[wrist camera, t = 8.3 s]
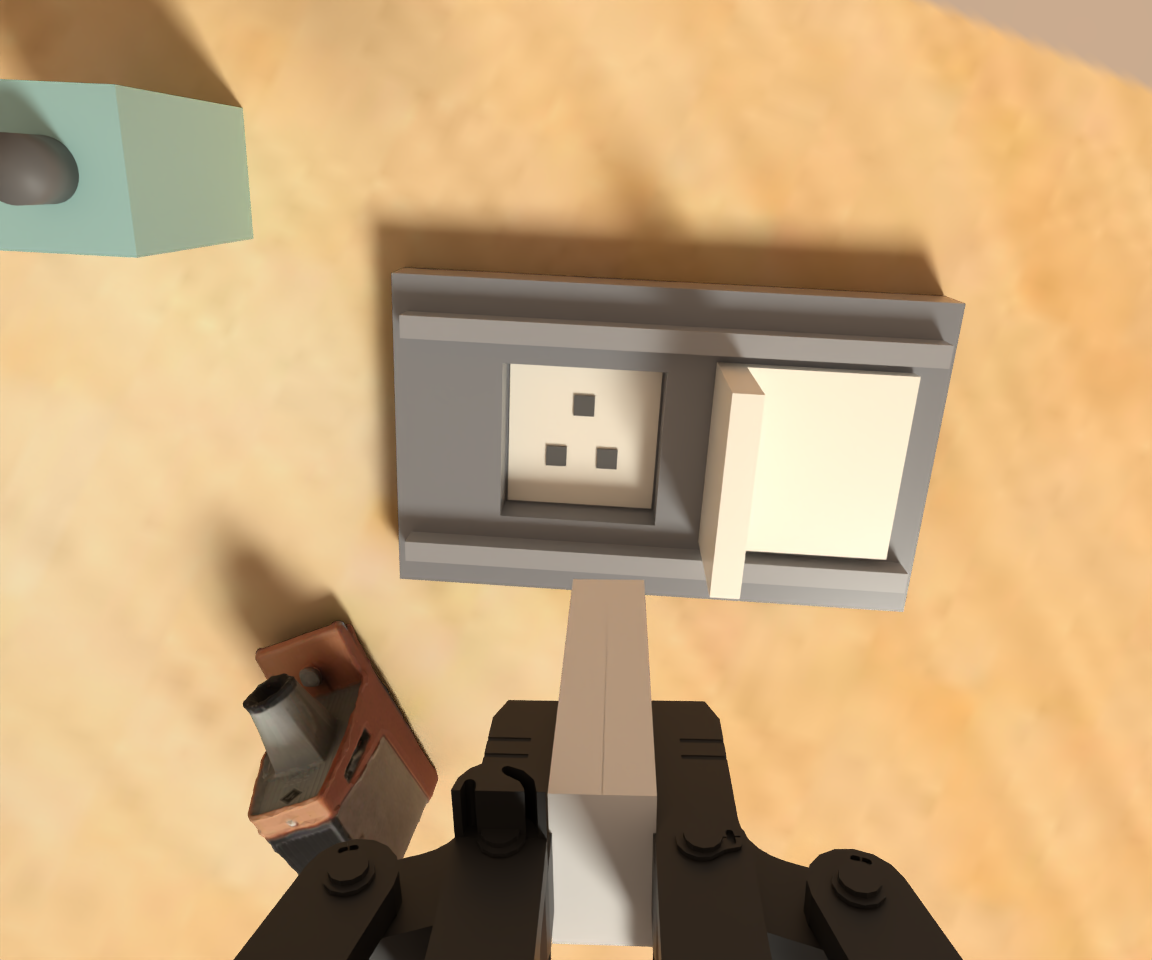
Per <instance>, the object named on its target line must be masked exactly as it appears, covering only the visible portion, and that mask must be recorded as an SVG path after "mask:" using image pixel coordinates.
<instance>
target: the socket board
mask: <svg viewBox="0 0 1152 960" xmlns="http://www.w3.org/2000/svg"><path fill="white" fill-rule="evenodd" d="M391 279H392V314H393V349H394V384H395V420H396V455H397V490H398V525H399V560H400V579H415V580H430V581H445V582H460V583H475V584H490V585H505V586H520V587H536V588H551V589H566V590H572V583H573V579H599V580H644V586H645V595H656V596H672V597H687V598H702V599H717V600H732V601H747V602H762V603H777V604H792V605H808V606H823V607H838V608H853V609H868V610H883V611H898V612H903V611H904V606H905V601H906V596H907V591H908V586H909V581H910V576H911V571H912V566H913V561H914V556H915V551H916V546H917V541H918V536H919V532H920V527H921V522H922V517H923V512H924V507H925V502H926V497H927V492H928V487H929V482H930V477H931V472H932V467H933V462H934V457H935V452H936V447H937V442H938V437H939V432H940V428H941V423H942V418H943V413H944V408H945V403H946V398H947V393H948V388H949V383H950V378H951V373H952V368H953V363H954V358H955V353H956V348H957V343H958V338H959V333H960V328H961V324H962V319H963V314H964V309H965V303H963V302H960V301H957V300H954V299H952V298H949V297H946V296H936V295H917V294H898V293H880V292H861V291H842V290H823V289H804V288H785V287H766V286H748V285H729V284H710V283H691V282H672V281H653V280H634V279H616V278H597V277H578V276H559V275H540V274H521V273H503V272H484V271H465V270H446V269H427V268H408V267H405V268H402V269H400V270H397V271H395V272H393V273H391ZM717 362H723V363H740V364H758V365H776V366H794V367H811V368H829V369H847V370H865V371H882V372H900V373H915V374H917V375H918V376H920V377H921V379H920V384H919V389H918V394H917V400H916V405H915V410H914V415H913V421H912V426H911V431H910V437H909V442H908V447H907V452H906V458H905V463H904V468H903V474H902V479H901V484H900V489H899V495H898V500H897V505H896V510H895V516H894V521H893V526H892V532H891V537H890V542H889V547H888V553H887V558H886V560H883V559H867V558H852V557H836V556H821V555H805V554H789V553H774V552H758V551H746V553H745V561H744V569H743V577H742V585H741V593H740V599H727V598H712V597H709V592H708V587H707V582H706V577H705V572H704V567H703V562H702V557H701V553H700V548H699V543H698V538H699V529H700V519H701V510H702V500H703V491H704V481H705V471H706V462H707V452H708V443H709V433H710V424H711V414H712V404H713V395H714V385H715V376H716V366H717Z"/></svg>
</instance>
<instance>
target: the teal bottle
mask: <svg viewBox="0 0 1152 960" xmlns="http://www.w3.org/2000/svg"><path fill="white" fill-rule="evenodd" d="M248 239H253V228H252V216H251V204H250V192H249V179H248V167H247V155H246V143H245V131H244V119H243V108H240V107H235V106H229V105H224V104H218V103H213V102H207V101H202V100H197V99H191V98H186V97H180V96H175V95H169V94H164V93H159V92H153V91H148V90H142V89H137V88H131V87H126V86H121V85H115V84H94V83H73V82H51V81H29V80H7V79H0V250H3V251H22V252H41V253H60V254H79V255H97V256H116V257H135V258H138V257H144V256H150V255H156V254H162V253H168V252H175V251H181V250H187V249H193V248H199V247H205V246H211V245H218V244H224V243H230V242H236V241H242V240H248Z"/></svg>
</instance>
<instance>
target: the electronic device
mask: <svg viewBox="0 0 1152 960" xmlns="http://www.w3.org/2000/svg"><path fill="white" fill-rule="evenodd" d="M256 661H257V662H258V664H259V666H260V668H261V669H262V671H263V673H264V675H265V677H266V678H267V680H266V681H265V682H263V683H262V684H260V685H258V686H257V688H256V689H255V690H254V691H253V692H252V693H251V694H250V695H249V696H248V697H247V699H246V700H245V701H244V702H243V707H244V708H245V709H246V710H247V711H248V712H249V713H250V715H251V717H252V719H253V721H254V723H255V725H256V727H257V729H258V732H259V734H260V736H261V739H262V741H263V744H264V746H265V749H266V752H265V754H264V755H263V757H262V760H261V764H260V769H259V773H258V777H257V779H256V781H255V785H254V789H253V795H252V798H251V803H250V807H249V811H248V818H249V820H250V821H251V822H252V823H253V824H254V825H255V826H256V828H257V829H258V833H259V834H260V835H261V836H263V837H264V838H265V839H266V840H267V841H268V842H269V843H270V844H271V846H272V848H273V849H274V851H275V852H276V853H278V854H279V855H280V856H281V857H282V858H284V859H285V860H286V862H287V863H288V864H289V865H290V866H291V867H292V868H293V869H294V870H295V871H296V872H297V873H298V875H299V874H300V873H301V872H302V871H303V869H304V868H305V867H306V865H307V864H308V863H309V862H310V861H311V860H313V859H314V858H315V857H316V856H317V855H318V854H319V853H320V852H322V851H323V850H325V849H327V848H329V847H331V846H333V845H335V844H337V843H340V842H345V841H349V840H354V839H367V840H375V841H378V842H380V843H382V844H385V845H387V846H388V847H389V848H390V849H391V850H392V851H393V852H394V854H395V855H396V856H397V860H399V859H403V857H404V854H405V852H406V850H407V848H408V845H409V843H410V840H411V838H412V836H413V833H414V831H415V829H416V826H417V824H418V822H419V821H420V818H421V815H422V812H423V810H424V808H425V806H426V804H427V803H428V802H429V800H430V799H431V797H432V795H433V792H434V789H435V786H436V783H437V781H438V775H437V772H436V770H435V768H433V767H432V765H431V764H430V762H429V761H428V759H427V758H426V756H425V754H424V753H423V751H422V750H421V748H420V747H419V745H418V743H417V741H416V739H415V737H414V735H413V733H412V731H411V730H410V728H409V725H408V723H407V722H405V720H404V719H403V716H402V713H401V711H400V710H399V708H398V707H397V705H396V704H395V702H394V700H393V699H392V697H391V696H390V694H389V692H388V689H387V688H386V686H385V685H383V683H382V682H381V681H380V679H379V678H378V676H377V675H376V673H375V672H374V670H373V668H372V665H371V662H370V660H369V659H368V658H367V656H366V654H365V651H364V649H363V647H362V646H361V645H360V643H359V641H358V639H357V637H356V634H355V631H354V628H353V627H352V625H351V624H344V622H342V621H335V622H333V623H332V624H331V625H328V626H325V627H323V628H320V629H317V630H314V631H311V632H309V633H304V634H302V635H299V636H297V637H295V638H292V639H289V640H286V641H284V642H281V643H278V644H275V645H272V646H268V647H265V648H259V649H258V650H257V651H256Z"/></svg>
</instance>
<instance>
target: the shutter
mask: <svg viewBox="0 0 1152 960" xmlns="http://www.w3.org/2000/svg"><path fill="white" fill-rule="evenodd" d="M920 379H921V377H920V376H918V375H917V374H915V373H900V372H882V371H865V370H847V369H829V368H811V367H794V366H776V365H758V364H740V363H723V362H717V366H716V376H715V385H714V395H713V404H712V414H711V424H710V433H709V443H708V452H707V462H706V471H705V481H704V491H703V500H702V510H701V519H700V529H699V538H698V543H699V548H700V553H701V557H702V562H703V567H704V572H705V577H706V582H707V587H708V592H709V597H712V598H727V599H740V593H741V585H742V577H743V569H744V561H745V553H746V551H758V552H774V553H789V554H805V555H821V556H836V557H852V558H867V559H883V560H886V558H887V553H888V547H889V542H890V537H891V532H892V526H893V521H894V516H895V510H896V505H897V500H898V495H899V489H900V484H901V479H902V474H903V468H904V463H905V458H906V452H907V447H908V442H909V437H910V431H911V426H912V421H913V415H914V410H915V405H916V400H917V394H918V389H919V384H920Z"/></svg>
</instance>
